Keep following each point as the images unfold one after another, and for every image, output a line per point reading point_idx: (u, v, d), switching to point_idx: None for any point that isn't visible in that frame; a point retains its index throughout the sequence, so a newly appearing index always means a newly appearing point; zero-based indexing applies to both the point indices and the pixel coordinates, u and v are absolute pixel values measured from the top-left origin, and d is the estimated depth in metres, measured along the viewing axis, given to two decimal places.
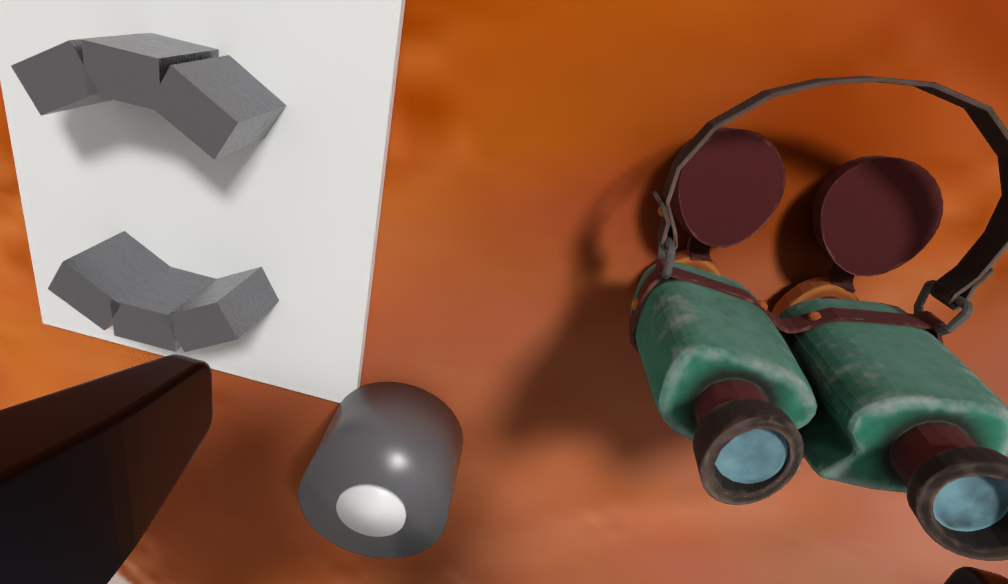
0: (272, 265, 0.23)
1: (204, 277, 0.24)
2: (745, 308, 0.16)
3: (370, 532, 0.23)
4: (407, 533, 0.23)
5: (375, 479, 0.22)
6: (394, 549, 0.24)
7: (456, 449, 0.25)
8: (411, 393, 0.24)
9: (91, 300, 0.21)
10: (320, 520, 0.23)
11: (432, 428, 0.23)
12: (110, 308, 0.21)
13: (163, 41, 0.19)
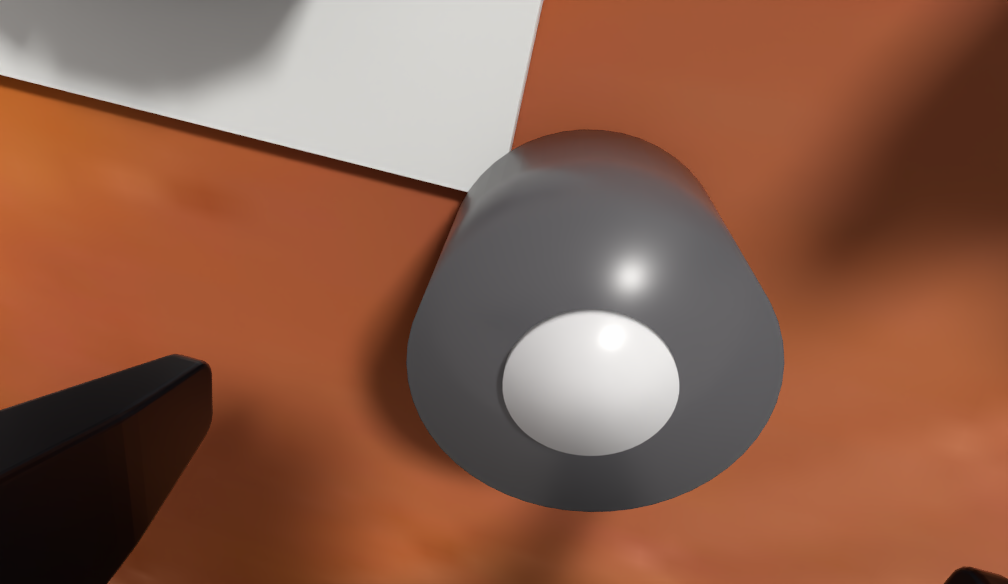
0: None
1: None
2: None
3: (576, 444, 0.10)
4: (661, 447, 0.10)
5: (616, 296, 0.08)
6: (619, 489, 0.10)
7: None
8: (642, 145, 0.11)
9: None
10: (453, 419, 0.10)
11: (709, 205, 0.10)
12: None
13: None
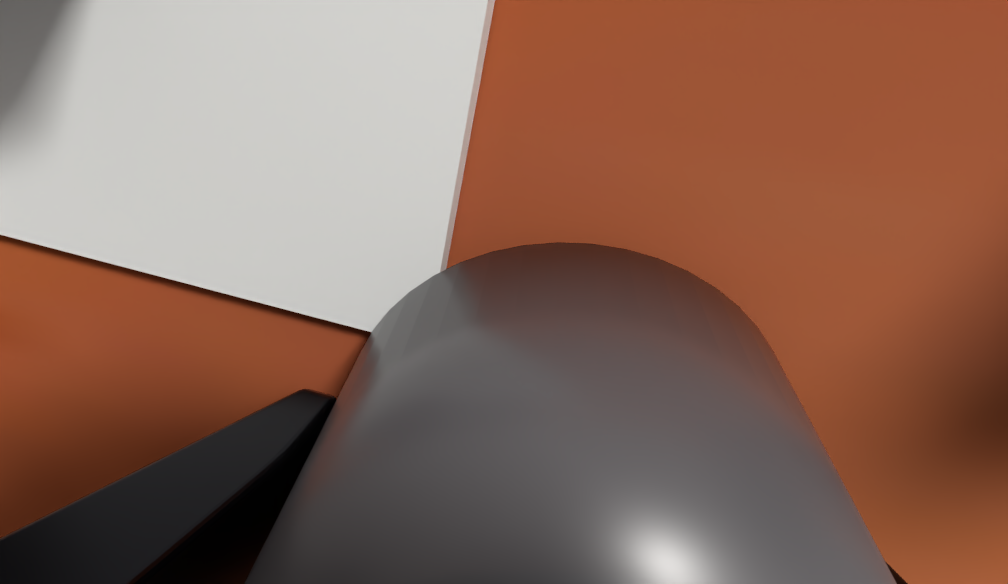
0: None
1: None
2: None
3: None
4: None
5: None
6: None
7: None
8: (662, 278, 0.06)
9: None
10: None
11: (794, 412, 0.05)
12: None
13: None
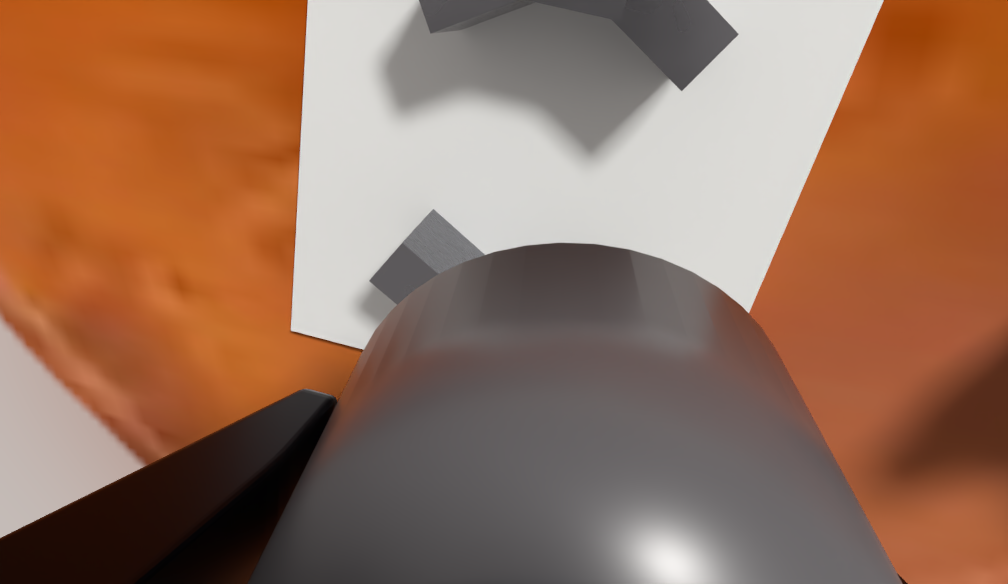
0: None
1: None
2: None
3: None
4: None
5: None
6: None
7: None
8: (666, 278, 0.06)
9: None
10: None
11: (801, 413, 0.05)
12: None
13: None
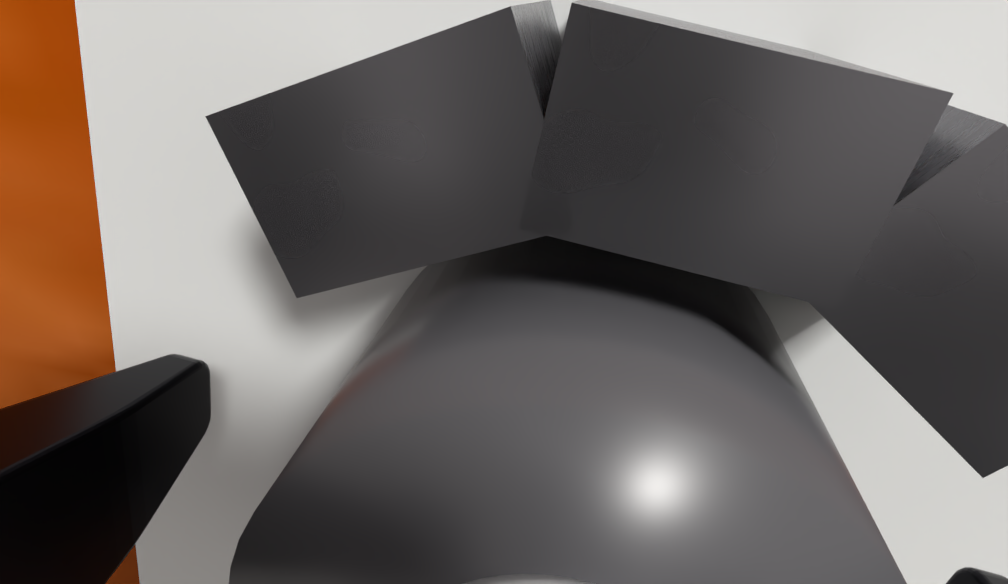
0: None
1: None
2: None
3: None
4: None
5: (597, 559, 0.04)
6: None
7: None
8: None
9: None
10: None
11: (775, 349, 0.06)
12: None
13: (682, 22, 0.06)
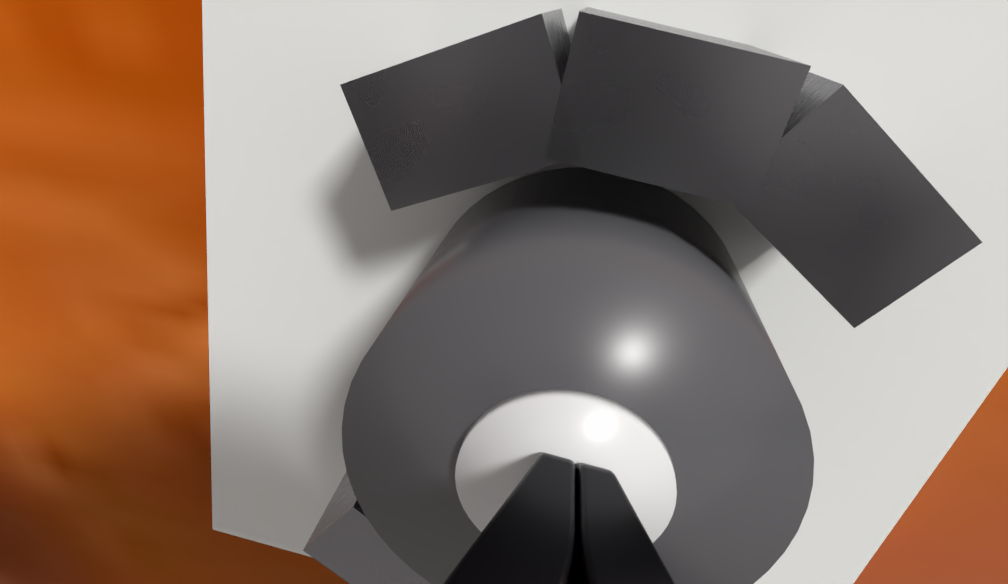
0: None
1: None
2: None
3: None
4: None
5: (588, 373, 0.07)
6: None
7: None
8: (636, 183, 0.09)
9: (397, 577, 0.10)
10: (404, 518, 0.08)
11: (716, 252, 0.08)
12: None
13: (655, 24, 0.08)
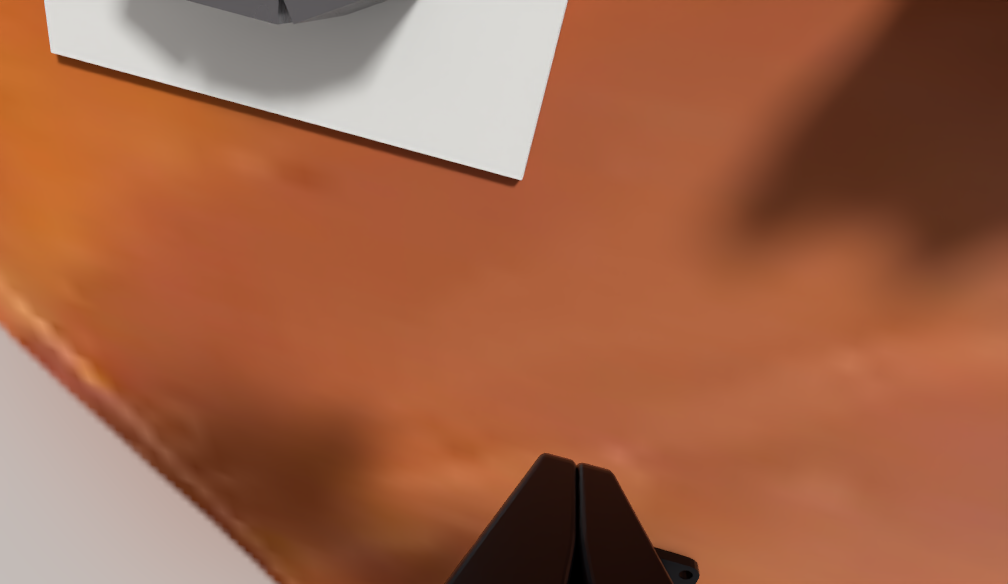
0: None
1: None
2: None
3: None
4: None
5: None
6: None
7: None
8: None
9: None
10: None
11: None
12: None
13: None
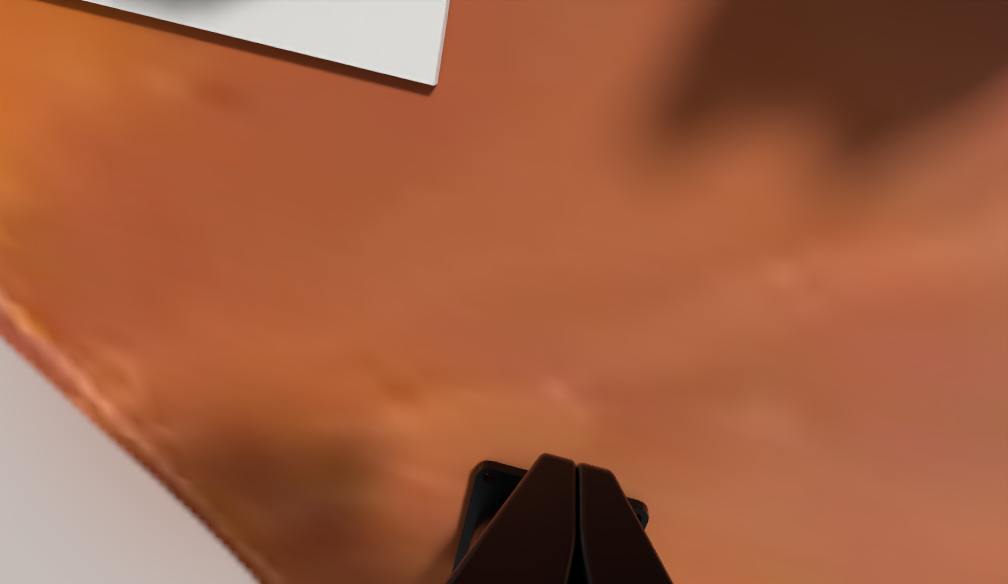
0: None
1: None
2: None
3: None
4: None
5: None
6: None
7: None
8: None
9: None
10: None
11: None
12: None
13: None
